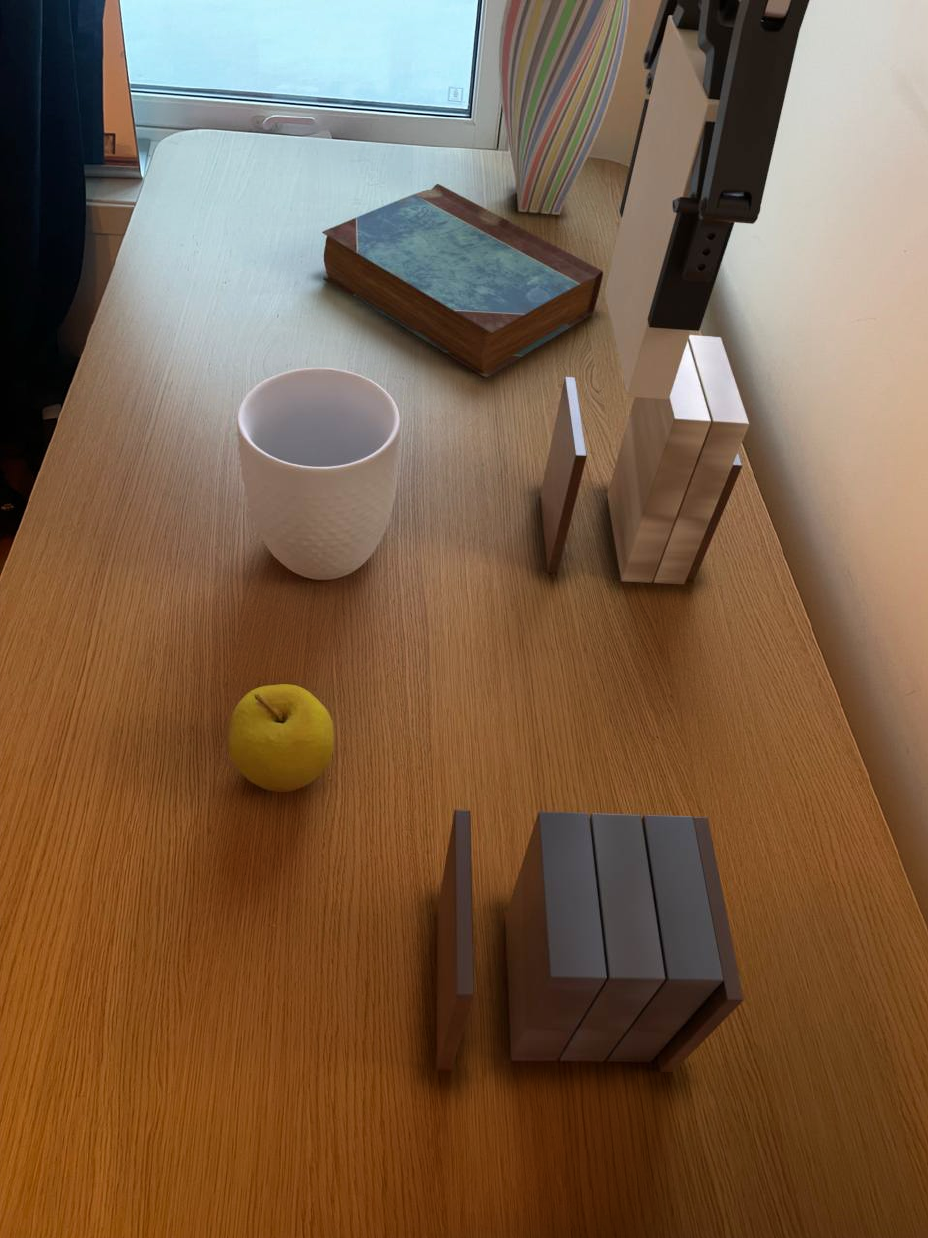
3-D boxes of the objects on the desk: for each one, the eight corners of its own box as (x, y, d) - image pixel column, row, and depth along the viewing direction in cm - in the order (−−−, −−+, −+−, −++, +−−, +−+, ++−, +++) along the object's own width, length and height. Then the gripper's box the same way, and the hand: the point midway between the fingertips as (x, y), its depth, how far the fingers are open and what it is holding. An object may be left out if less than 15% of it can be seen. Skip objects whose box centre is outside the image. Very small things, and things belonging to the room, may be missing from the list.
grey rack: (650, 911, 56) (714, 807, 47) (673, 1072, 51) (752, 992, 41) (437, 906, 55) (456, 798, 45) (436, 1070, 50) (458, 987, 40)
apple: (224, 744, 61) (210, 671, 55) (320, 719, 63) (316, 646, 57) (246, 829, 57) (233, 761, 51) (347, 800, 59) (346, 731, 53)
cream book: (642, 295, 61) (715, 18, 49) (669, 399, 54) (762, 108, 42) (604, 292, 61) (668, 14, 49) (626, 397, 54) (708, 103, 42)
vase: (482, 226, 108) (518, -93, 85) (480, 171, 116) (512, -131, 93) (598, 236, 109) (665, -76, 86) (588, 181, 117) (645, -116, 94)
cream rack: (675, 498, 81) (734, 337, 68) (695, 585, 74) (763, 424, 62) (539, 490, 80) (574, 325, 67) (548, 577, 73) (587, 412, 61)
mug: (328, 457, 80) (325, 322, 70) (442, 506, 77) (456, 373, 67) (221, 566, 71) (200, 429, 61) (346, 625, 68) (345, 492, 58)
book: (594, 313, 98) (604, 269, 94) (484, 379, 89) (490, 333, 85) (436, 225, 107) (439, 182, 103) (320, 277, 98) (319, 232, 94)
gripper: (657, -304, 44) (572, 166, 61) (772, -196, 29) (617, 388, 46) (811, -284, 45) (685, 176, 61) (1001, -168, 30) (766, 397, 47)
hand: (656, 266), depth 54 cm, fingers closed on cream book, 11 cm apart
